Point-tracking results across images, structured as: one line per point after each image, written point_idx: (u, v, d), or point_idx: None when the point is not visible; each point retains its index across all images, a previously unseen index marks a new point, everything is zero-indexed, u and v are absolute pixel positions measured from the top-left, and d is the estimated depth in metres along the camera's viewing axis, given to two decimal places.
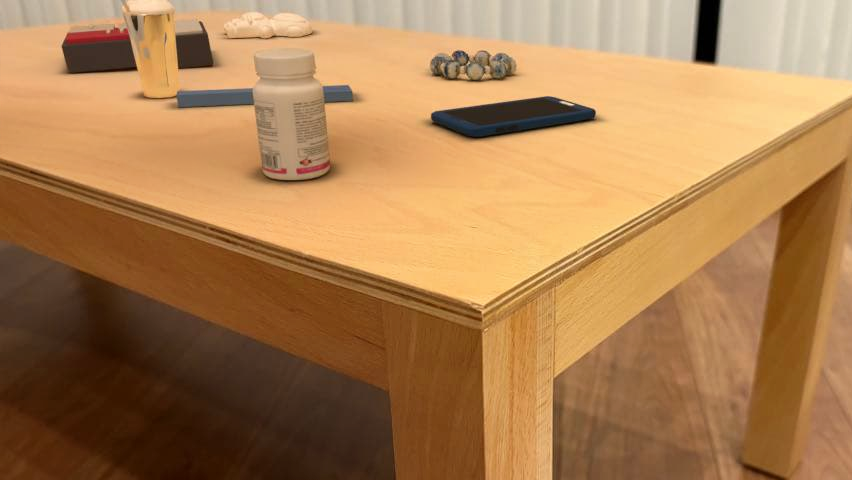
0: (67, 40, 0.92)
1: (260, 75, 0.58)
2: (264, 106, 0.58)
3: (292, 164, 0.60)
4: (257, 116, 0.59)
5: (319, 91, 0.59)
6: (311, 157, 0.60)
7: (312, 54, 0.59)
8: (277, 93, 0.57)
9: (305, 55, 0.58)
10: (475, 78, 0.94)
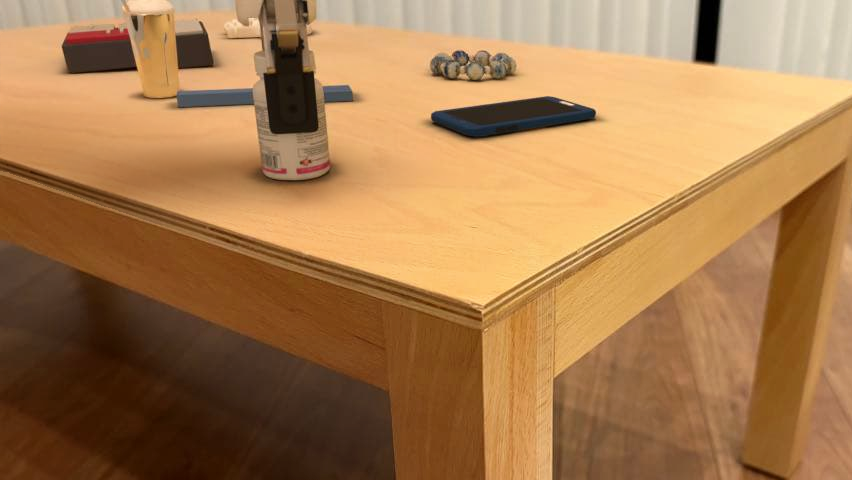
0: (67, 40, 0.92)
1: (260, 75, 0.58)
2: (264, 106, 0.58)
3: (292, 164, 0.60)
4: (257, 116, 0.59)
5: (319, 91, 0.59)
6: (311, 157, 0.60)
7: (312, 54, 0.59)
8: None
9: None
10: (475, 78, 0.94)
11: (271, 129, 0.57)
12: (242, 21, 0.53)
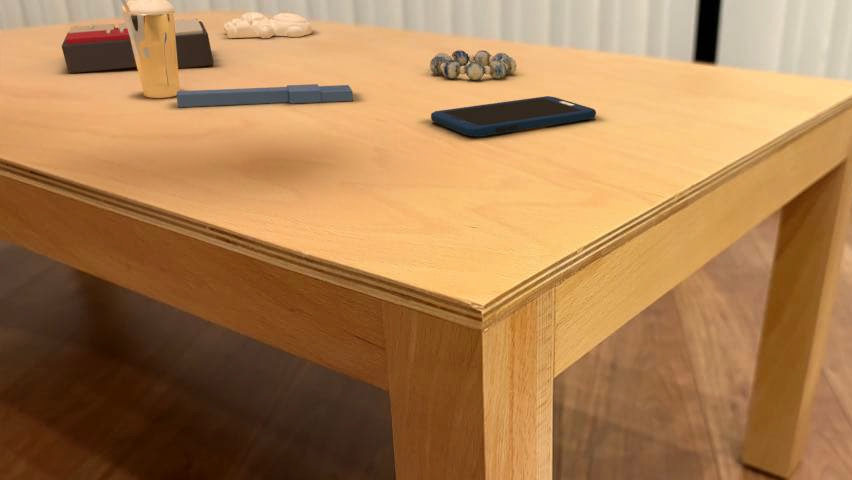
0: (67, 40, 0.92)
1: None
2: None
3: None
4: None
5: None
6: None
7: None
8: None
9: None
10: (475, 78, 0.94)
11: None
12: None
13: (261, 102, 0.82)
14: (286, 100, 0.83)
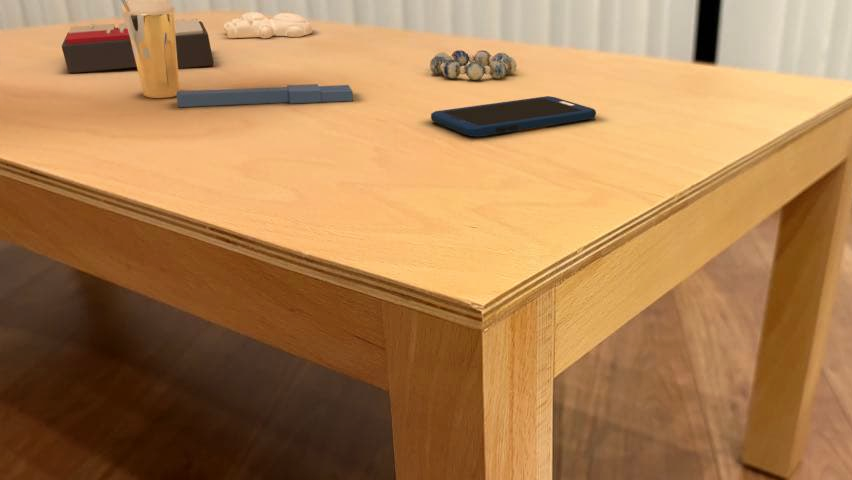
0: (67, 40, 0.92)
1: None
2: None
3: None
4: None
5: None
6: None
7: None
8: None
9: None
10: (475, 78, 0.94)
11: None
12: None
13: (261, 102, 0.82)
14: (286, 100, 0.83)
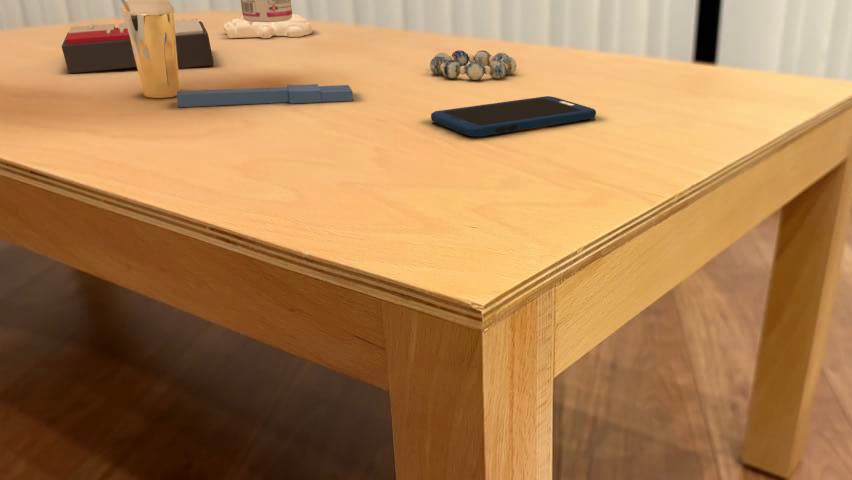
0: (67, 40, 0.92)
1: None
2: None
3: (264, 9, 0.83)
4: None
5: None
6: (277, 4, 0.84)
7: None
8: None
9: None
10: (475, 78, 0.94)
11: None
12: None
13: (261, 102, 0.82)
14: (286, 100, 0.83)
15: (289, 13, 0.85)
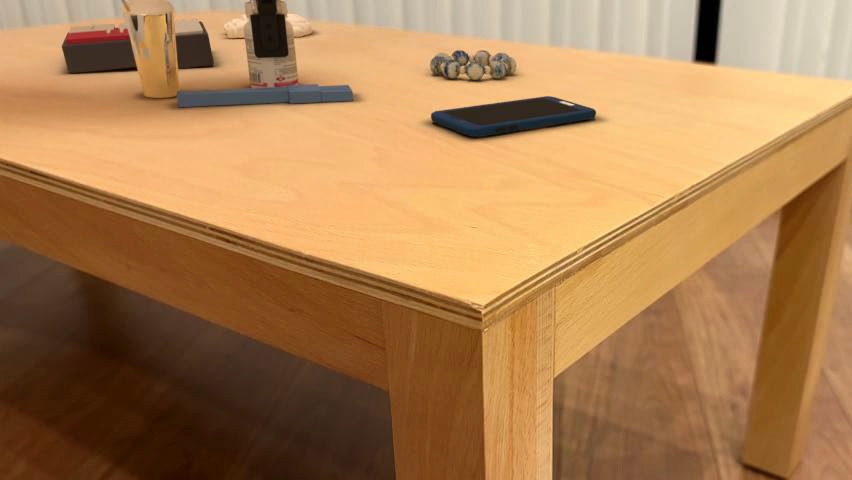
0: (67, 40, 0.92)
1: (249, 17, 0.84)
2: (252, 38, 0.84)
3: (271, 79, 0.86)
4: (247, 46, 0.85)
5: (290, 29, 0.86)
6: (284, 75, 0.86)
7: (285, 3, 0.85)
8: None
9: None
10: (475, 78, 0.94)
11: (256, 54, 0.84)
12: None
13: (261, 102, 0.82)
14: (286, 100, 0.83)
15: (295, 82, 0.88)
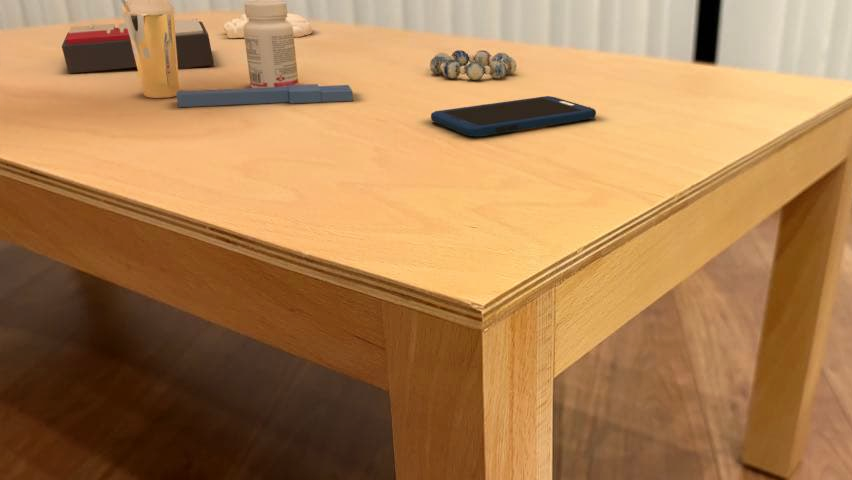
0: (67, 40, 0.92)
1: (248, 17, 0.84)
2: (251, 38, 0.84)
3: (271, 79, 0.86)
4: (246, 46, 0.85)
5: (289, 29, 0.86)
6: (284, 75, 0.86)
7: (284, 3, 0.85)
8: (260, 29, 0.84)
9: (279, 3, 0.84)
10: (475, 78, 0.94)
11: None
12: None
13: (261, 102, 0.82)
14: (286, 100, 0.83)
15: (295, 82, 0.88)
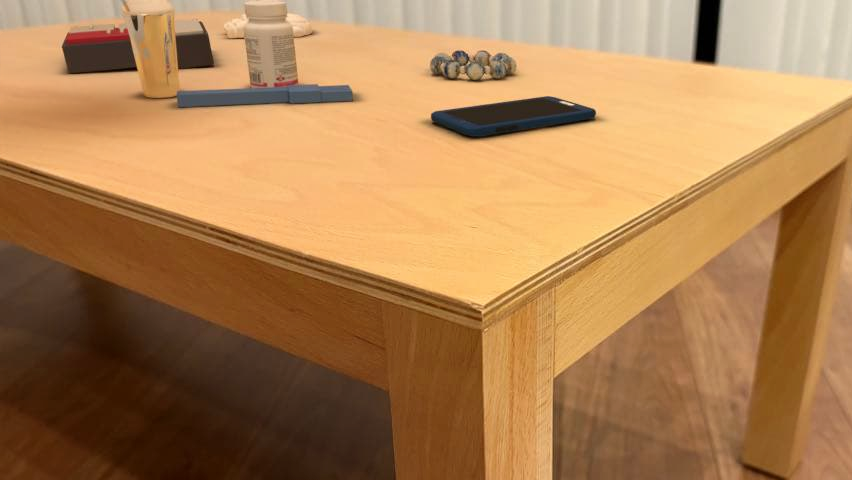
0: (67, 40, 0.92)
1: (248, 17, 0.84)
2: (251, 38, 0.84)
3: (271, 79, 0.86)
4: (246, 46, 0.85)
5: (289, 29, 0.86)
6: (284, 75, 0.86)
7: (284, 3, 0.85)
8: (260, 29, 0.84)
9: (279, 3, 0.84)
10: (475, 78, 0.94)
11: None
12: None
13: (261, 102, 0.82)
14: (286, 100, 0.83)
15: (295, 82, 0.88)
